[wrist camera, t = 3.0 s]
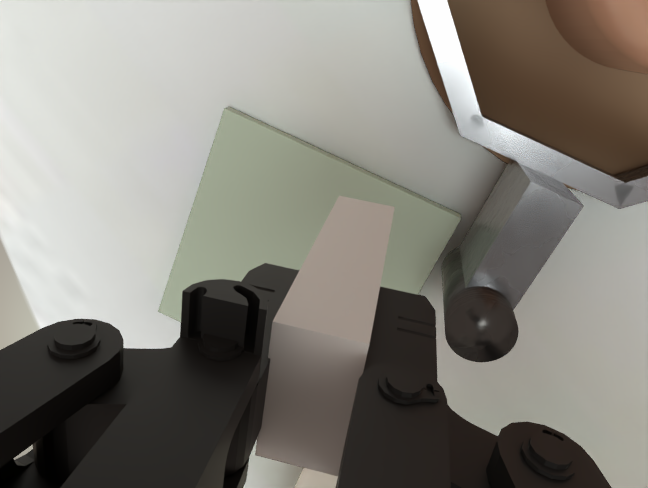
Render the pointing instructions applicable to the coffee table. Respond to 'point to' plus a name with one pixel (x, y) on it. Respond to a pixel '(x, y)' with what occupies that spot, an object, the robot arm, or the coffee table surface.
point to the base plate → (545, 83)
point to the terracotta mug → (605, 31)
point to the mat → (291, 211)
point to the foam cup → (316, 479)
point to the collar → (508, 210)
